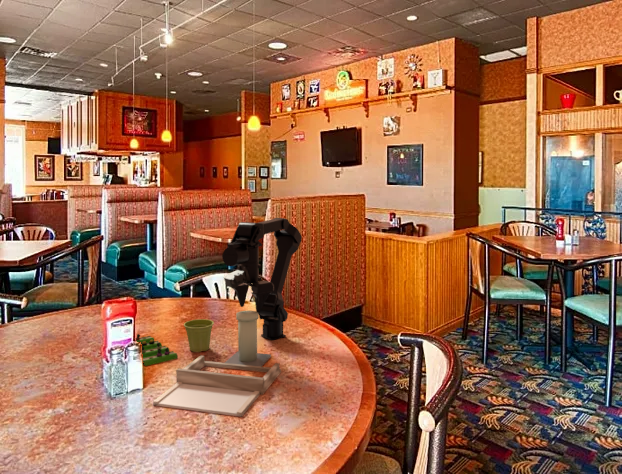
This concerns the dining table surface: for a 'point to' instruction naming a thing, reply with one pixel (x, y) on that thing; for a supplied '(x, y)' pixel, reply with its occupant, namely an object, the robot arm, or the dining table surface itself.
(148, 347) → the toy garden set
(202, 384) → the frame
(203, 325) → the plant pot
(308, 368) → the dining table surface
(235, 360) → the slate pad
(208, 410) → the frame lid
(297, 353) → the dining table surface
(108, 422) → the dining table surface
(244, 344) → the pale lidded canister
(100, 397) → the dining table surface
